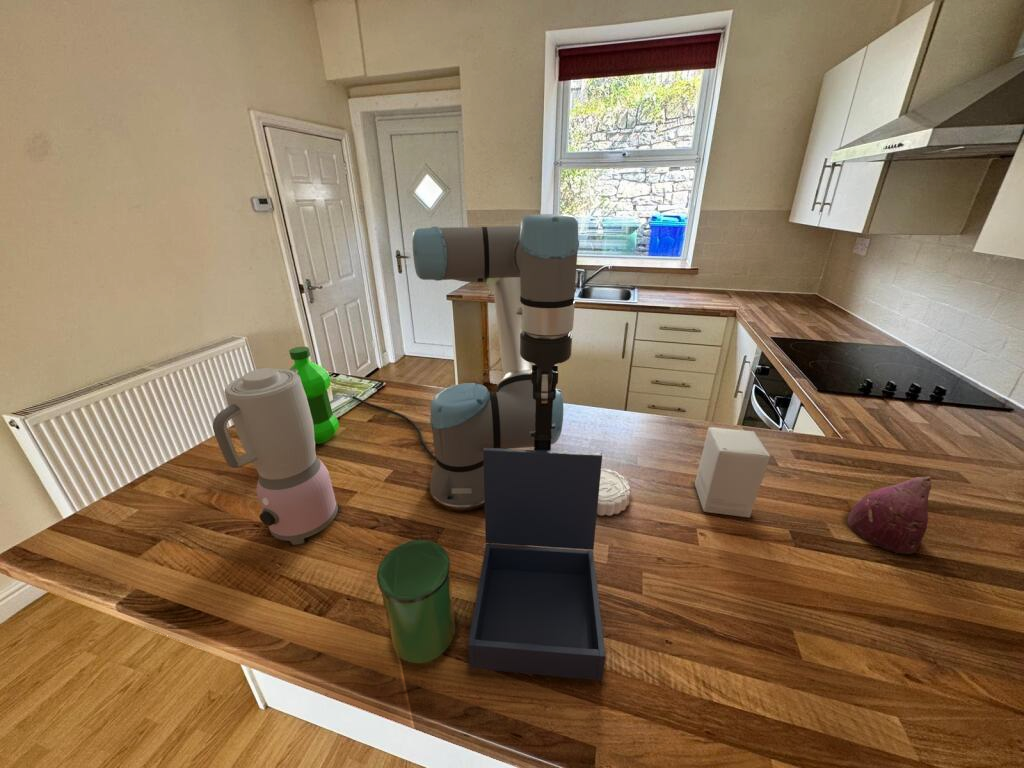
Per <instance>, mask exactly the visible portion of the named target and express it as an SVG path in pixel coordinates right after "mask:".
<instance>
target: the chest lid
mask: <svg viewBox="0 0 1024 768" xmlns="http://www.w3.org/2000/svg"><path fill="white" fill-rule="evenodd" d="M483 463H484V500H485V506H484V528H485V529H484V530H485V534H484V535H485V536H484V537H485V544H499V545H515V546H530V547H546V548H562V549H578V550H593V551H594V547H595V538H596V527H597V516H598V514H597V507H598V496H599V486H600V475H601V468H602V463H603V454H602V452H588V451H566V450H551V451H545V450H534V449H522V448H510V449H500V448H484V449H483Z"/></svg>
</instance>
